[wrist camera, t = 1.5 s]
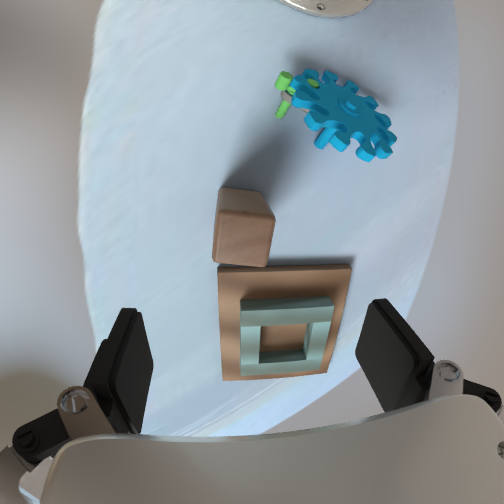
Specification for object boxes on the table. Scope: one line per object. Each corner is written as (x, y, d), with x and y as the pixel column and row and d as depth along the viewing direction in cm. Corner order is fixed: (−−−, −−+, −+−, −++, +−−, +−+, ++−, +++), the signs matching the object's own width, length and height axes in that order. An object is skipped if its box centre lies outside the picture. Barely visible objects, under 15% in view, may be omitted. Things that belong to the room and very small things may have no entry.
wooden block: (219, 185, 26) (217, 209, 18) (262, 191, 26) (277, 216, 19) (214, 226, 27) (211, 264, 20) (255, 231, 28) (267, 269, 21)
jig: (217, 267, 29) (217, 283, 26) (347, 263, 30) (359, 278, 27) (222, 374, 36) (223, 392, 33) (324, 366, 37) (330, 383, 34)
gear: (399, 108, 22) (402, 175, 18) (366, 142, 28) (356, 211, 23) (299, 46, 21) (265, 91, 16) (276, 89, 26) (240, 146, 22)
